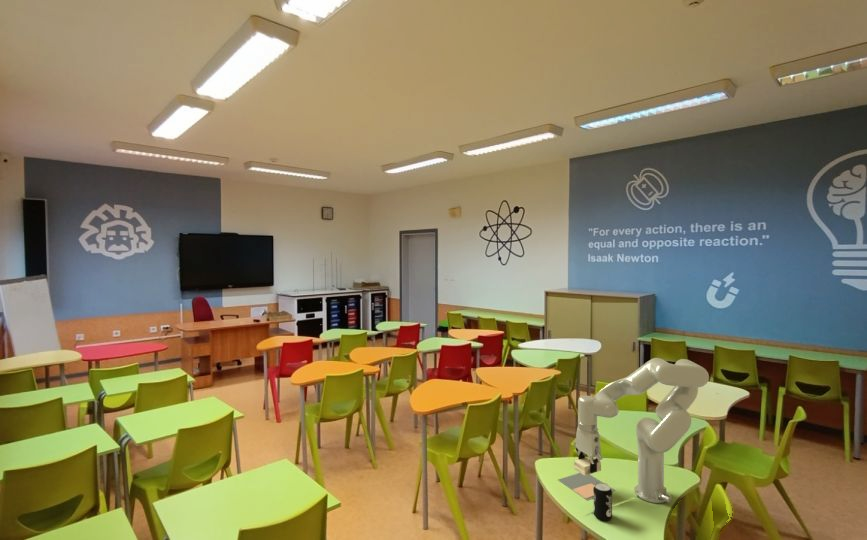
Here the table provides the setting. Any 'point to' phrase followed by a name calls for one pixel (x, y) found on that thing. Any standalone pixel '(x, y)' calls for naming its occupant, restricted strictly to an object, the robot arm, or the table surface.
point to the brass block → (585, 466)
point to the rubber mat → (581, 484)
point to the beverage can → (602, 501)
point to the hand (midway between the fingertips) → (587, 467)
